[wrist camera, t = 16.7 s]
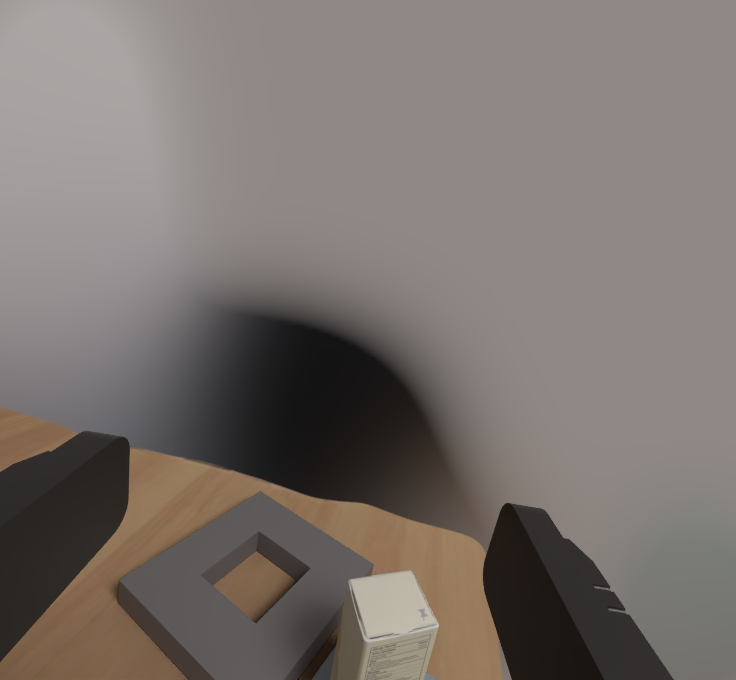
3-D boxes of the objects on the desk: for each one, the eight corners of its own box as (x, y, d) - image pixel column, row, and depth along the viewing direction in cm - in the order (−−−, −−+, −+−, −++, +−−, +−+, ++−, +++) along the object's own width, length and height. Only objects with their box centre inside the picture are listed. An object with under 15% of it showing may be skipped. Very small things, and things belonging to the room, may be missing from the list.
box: (386, 678, 30) (416, 567, 28) (408, 747, 27) (444, 625, 24) (322, 693, 29) (346, 576, 26) (335, 769, 25) (365, 640, 22)
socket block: (118, 603, 33) (118, 580, 32) (258, 508, 46) (260, 491, 46) (248, 745, 26) (252, 719, 25) (369, 583, 39) (373, 564, 39)
